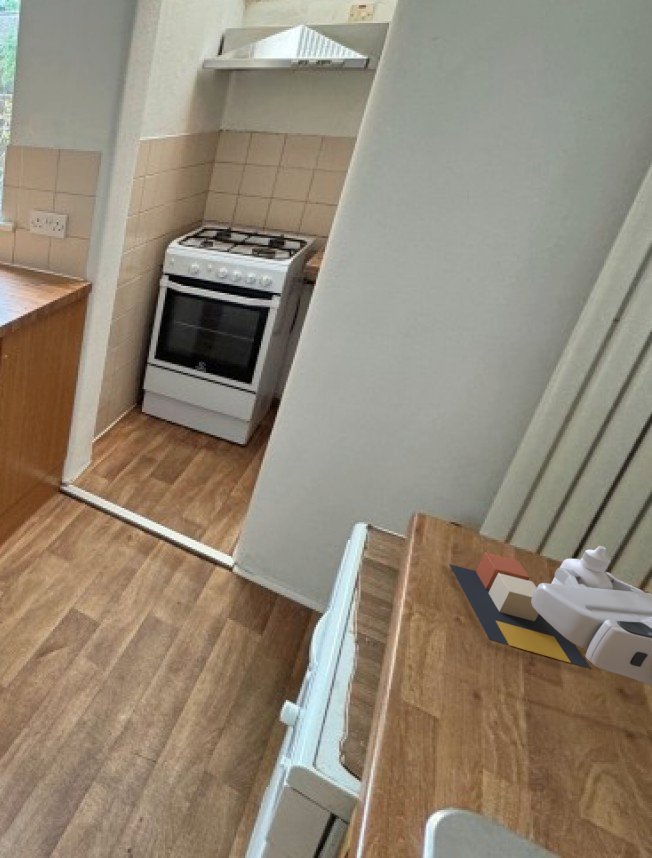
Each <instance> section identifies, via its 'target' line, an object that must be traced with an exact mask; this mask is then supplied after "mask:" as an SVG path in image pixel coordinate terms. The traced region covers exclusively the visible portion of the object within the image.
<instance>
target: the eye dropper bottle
mask: <svg viewBox="0 0 652 858" xmlns="http://www.w3.org/2000/svg"><path fill="white" fill-rule="evenodd" d="M606 553H607V547H605V546H602V545H598V546H597V547H596V548H595V549H585V551H584V552H583V555H582V556H581V558H580V559H579V558H566V559H564V560H563V561H562V563H561V564H560V566H559V568H566V569H572V570H573V571H574V572H575V573H577V574H578V575H579V576H581V577H580V579H579V580H578V581H577V582H578V584H583V585H585V586H586V587H589V588H600V589H610V590H612V589H613V586H612V583H611V581H610V579H609V578H608V576H607V575H606V574H605V573H604V572H606V570H607V569H608V567H609V565H610V563H611V561H612V560H611V558H610V556H608V555H607V554H606ZM550 584H558V585H563V584H562V583H561V582H560V581H559V580H558V579H556V577H555V576H554V577H553V579H552V581H551V583H550Z"/></svg>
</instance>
